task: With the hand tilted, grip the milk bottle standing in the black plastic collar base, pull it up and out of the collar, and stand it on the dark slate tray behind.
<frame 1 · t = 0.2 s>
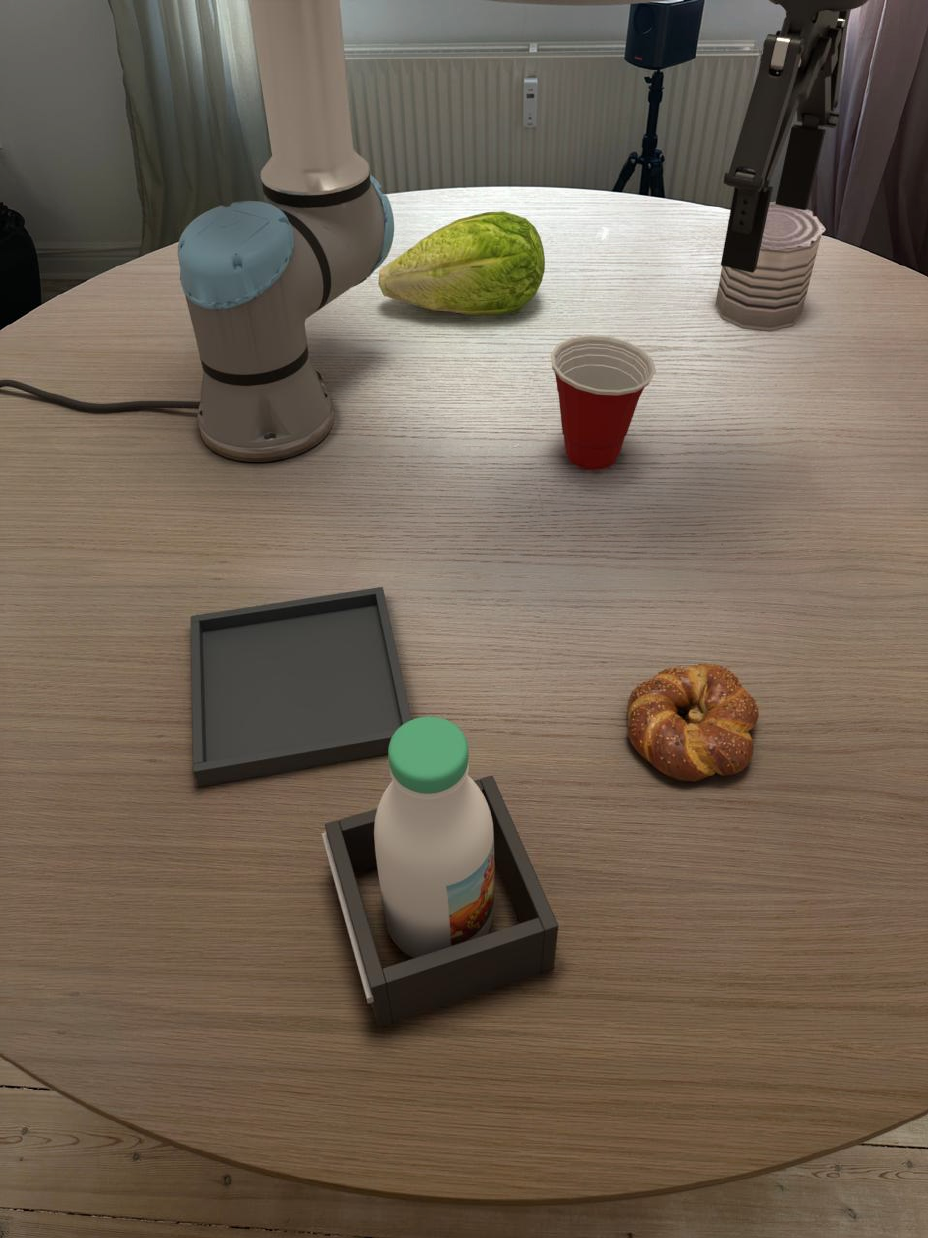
hand: (766, 235, 83), 28 cm above the table, tool pointing down, fingers open, 13 cm apart
can: (757, 311, 131), on the table
tray: (299, 687, 85), on the table
milk bottle: (439, 917, 70), resting in collar base
lettuce: (461, 307, 133), on the table
plastic cup: (593, 457, 109), on the table
pretzel: (690, 730, 82), on the table
collar base: (439, 916, 70), on the table
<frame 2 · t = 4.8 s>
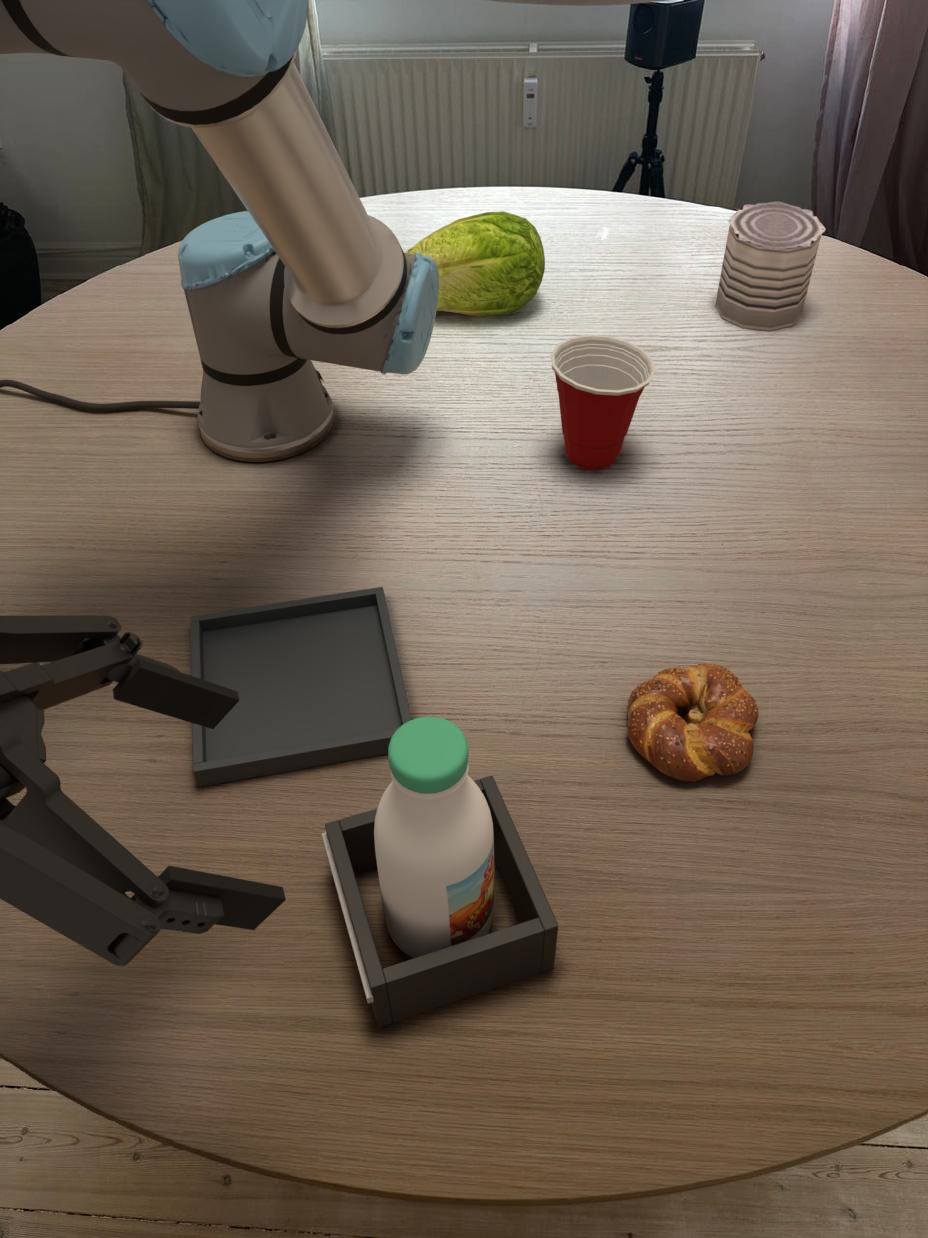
hand: (245, 801, 54), 20 cm above the table, tool tilted 45°, fingers open, 13 cm apart
nothing on the table moved.
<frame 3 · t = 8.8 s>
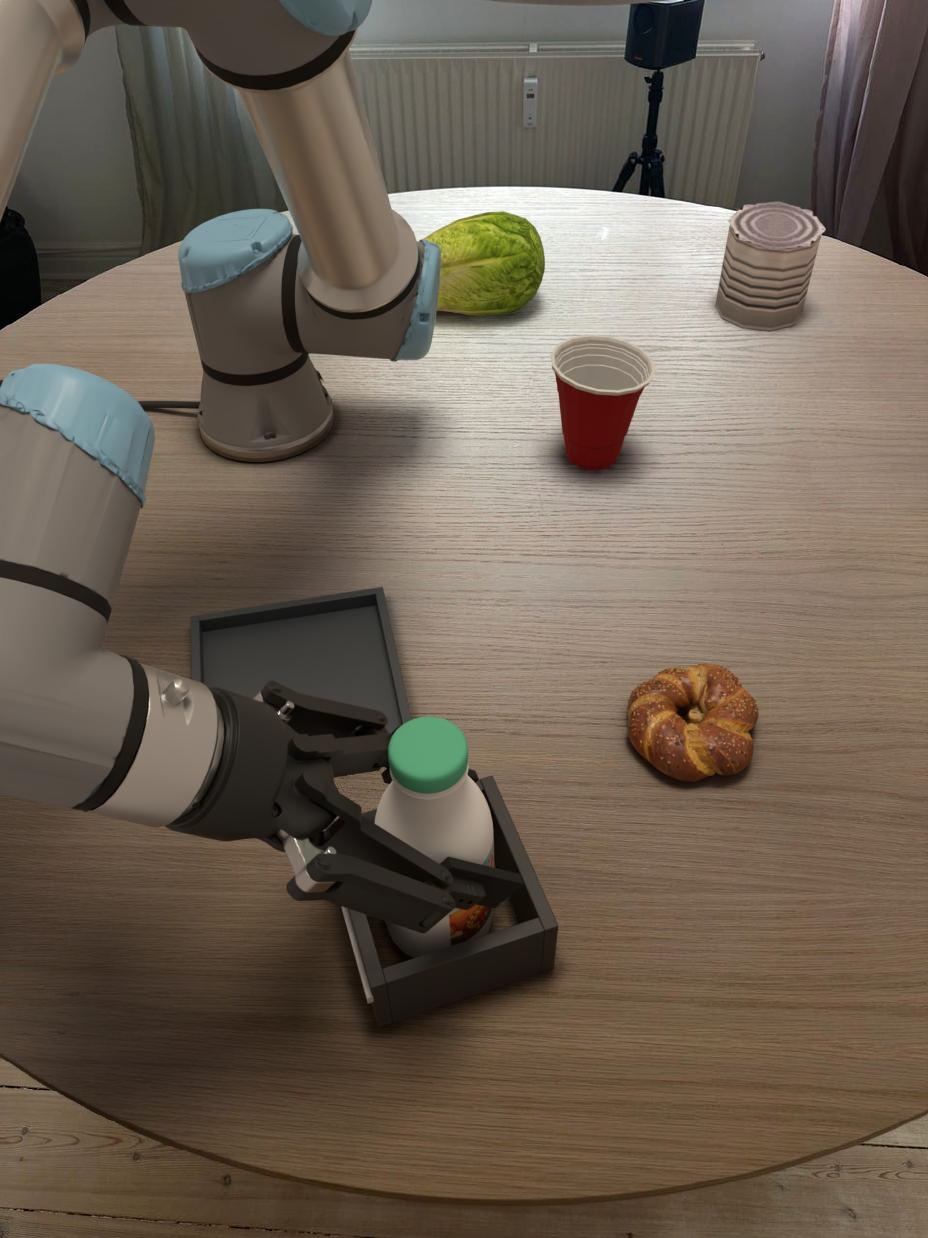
hand: (484, 837, 65), 9 cm above the table, tool tilted 45°, fingers closed on milk bottle, 8 cm apart
milk bottle: (439, 917, 70), resting in collar base, touching gripper
everything else where it was.
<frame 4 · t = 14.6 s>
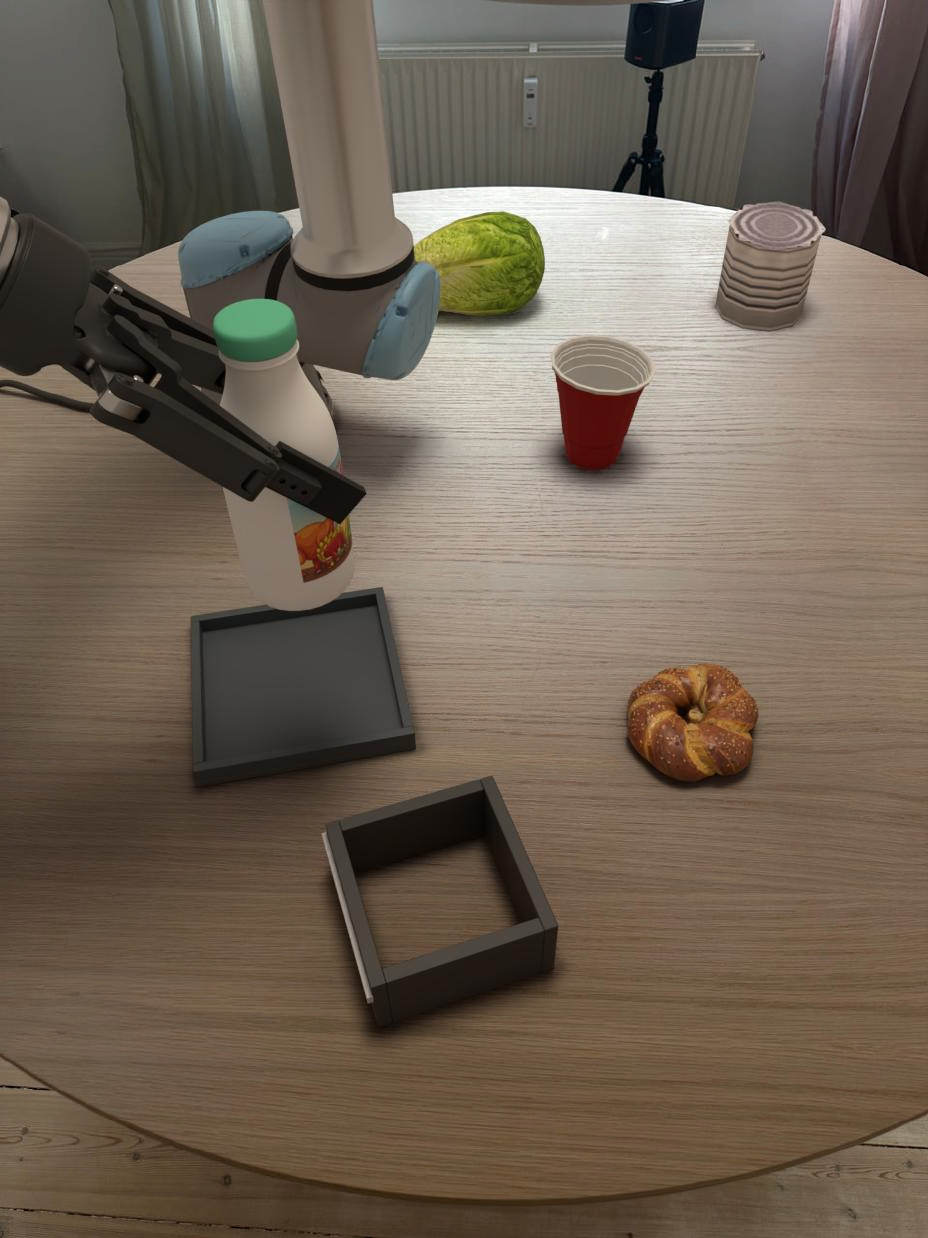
hand: (335, 467, 64), 26 cm above the table, tool tilted 45°, fingers closed on milk bottle, 8 cm apart
milk bottle: (301, 578, 69), point 18 cm above the table, touching gripper
everything else where it was.
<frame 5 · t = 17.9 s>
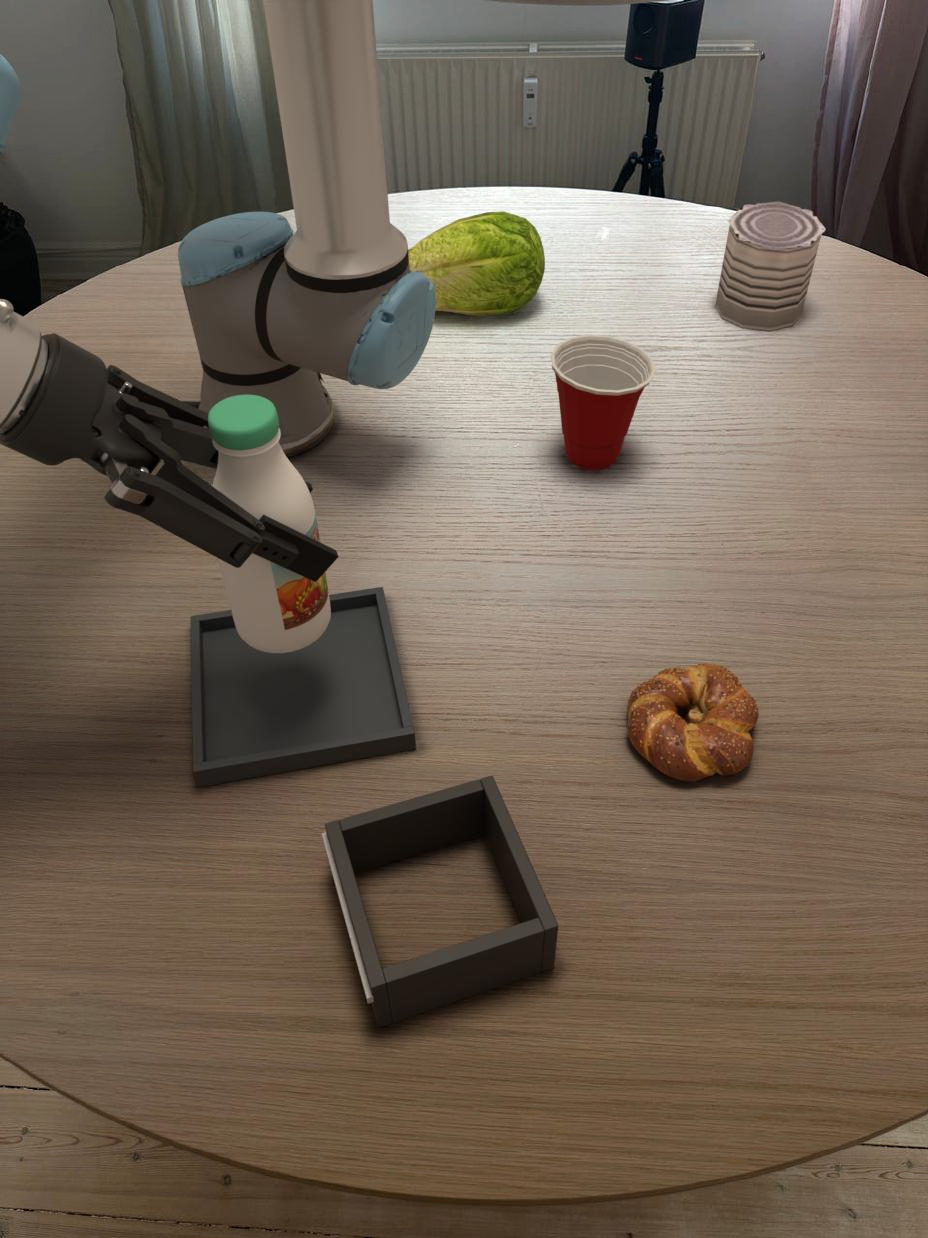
hand: (313, 531, 74), 17 cm above the table, tool tilted 45°, fingers closed on milk bottle, 8 cm apart
milk bottle: (284, 623, 80), point 8 cm above the table, touching gripper
everything else where it was.
when the fingers open (9 cm above the table, at t = 20.4 s): milk bottle stays where it is, resting on tray.
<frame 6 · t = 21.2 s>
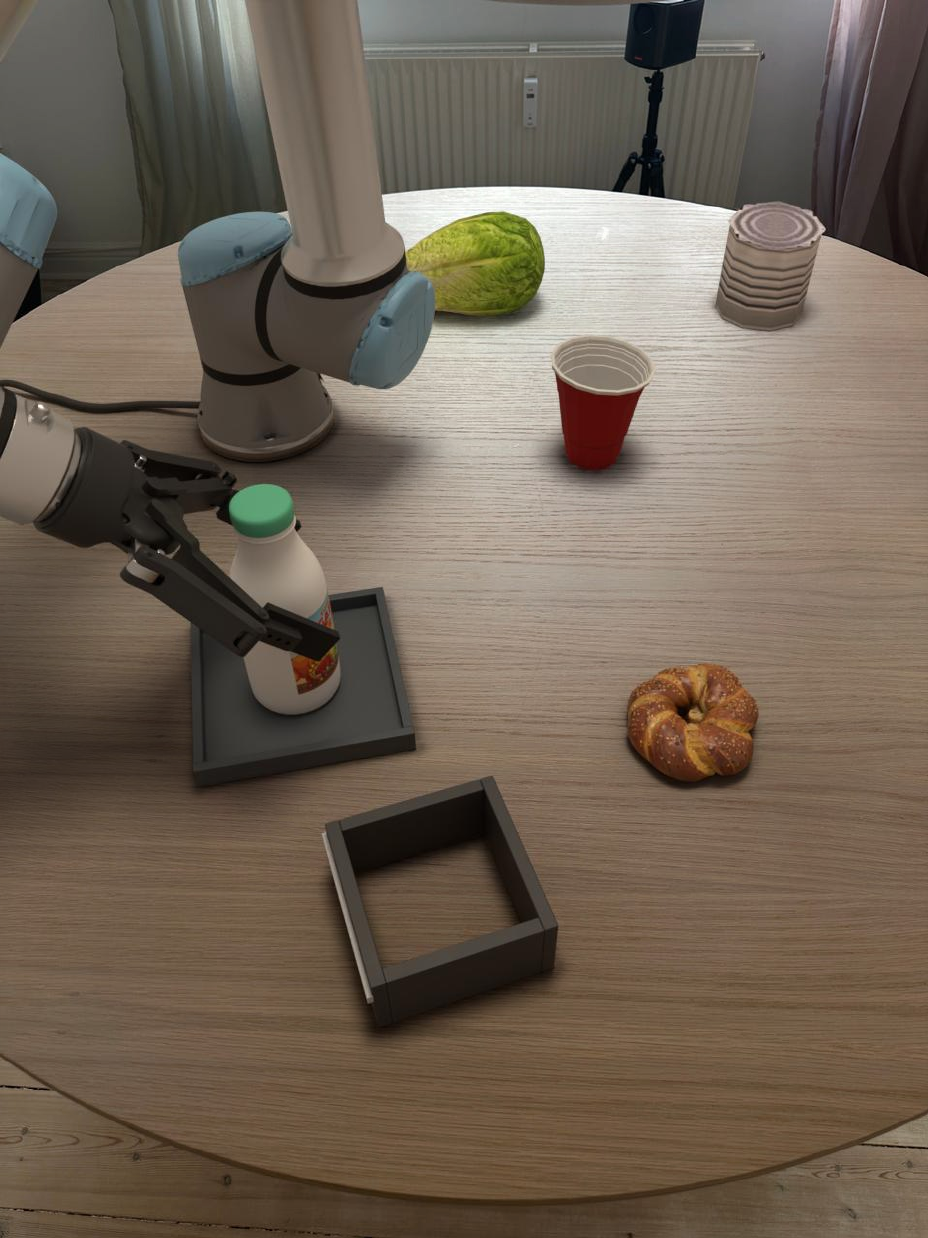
hand: (309, 587, 78), 11 cm above the table, tool tilted 45°, fingers open, 13 cm apart
milk bottle: (297, 684, 85), resting on tray
everything else where it was.
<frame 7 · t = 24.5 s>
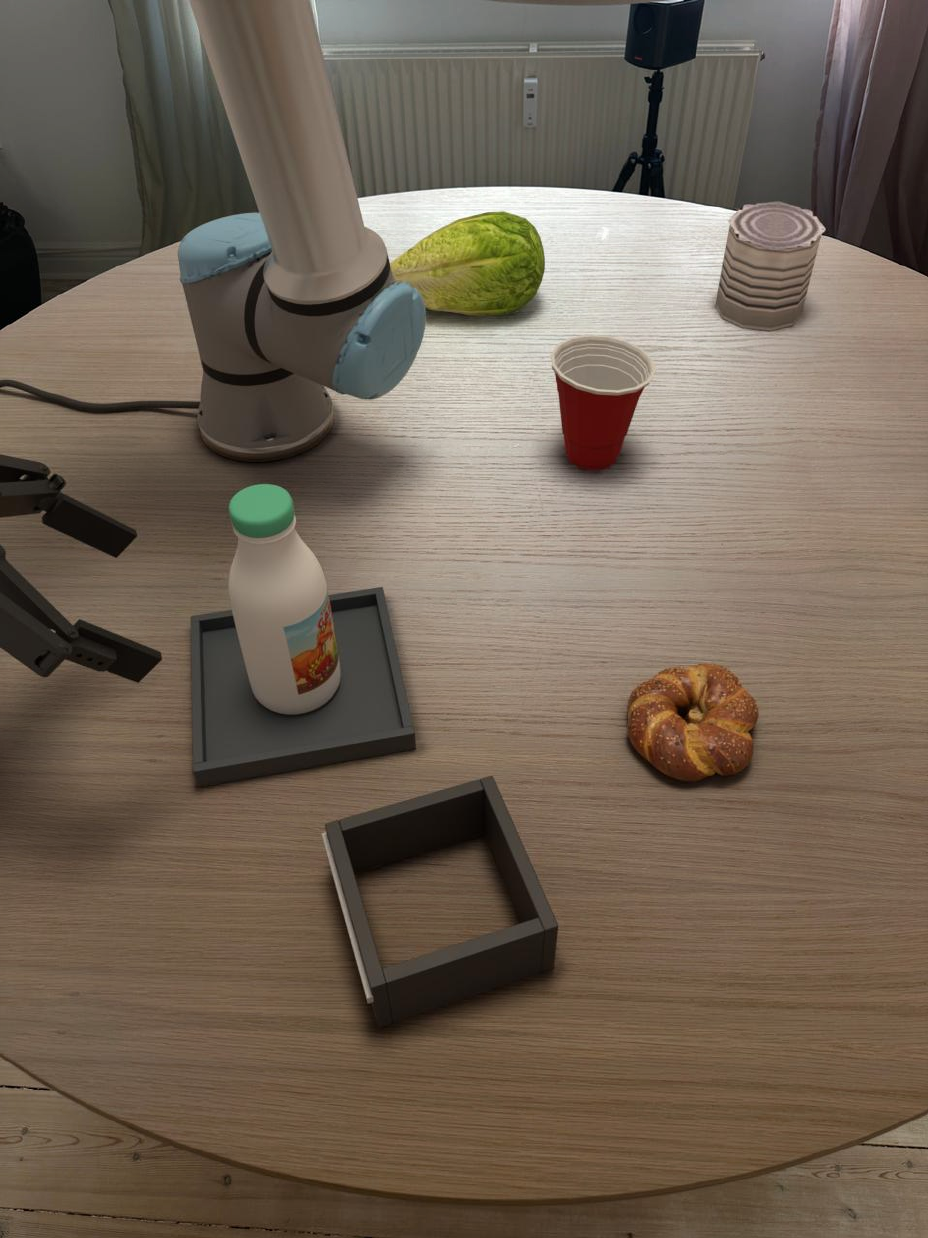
hand: (137, 602, 74), 13 cm above the table, tool tilted 40°, fingers open, 13 cm apart
nothing on the table moved.
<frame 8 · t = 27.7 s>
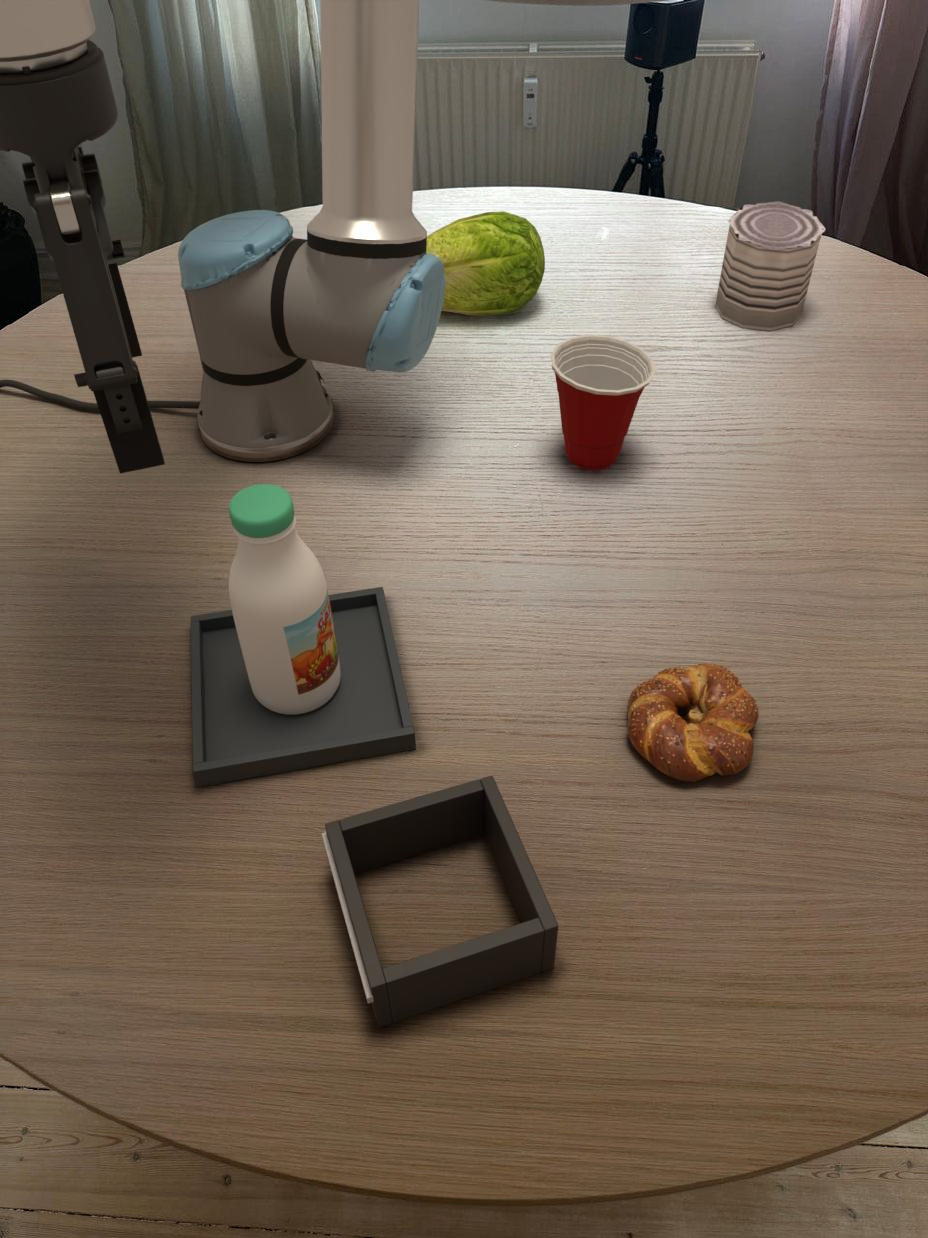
hand: (131, 407, 65), 29 cm above the table, tool pointing down, fingers open, 13 cm apart
nothing on the table moved.
at the end: milk bottle inside the target area in the tray (0.1 cm from its centre), point 0.4 cm above the tray's base; milk bottle tilted 0°; milk bottle touching tray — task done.
